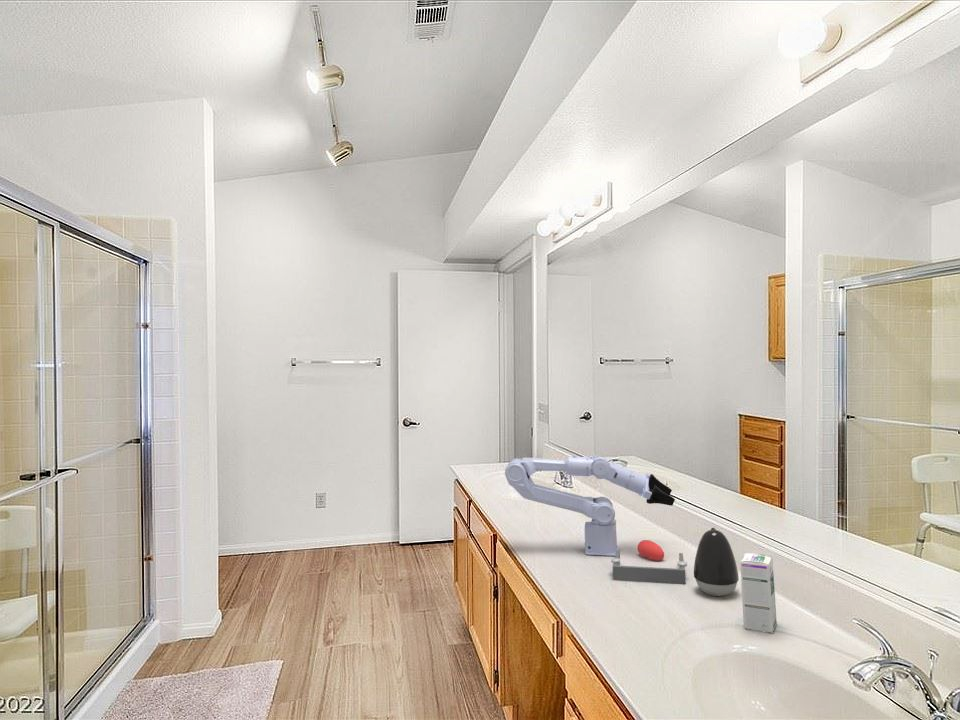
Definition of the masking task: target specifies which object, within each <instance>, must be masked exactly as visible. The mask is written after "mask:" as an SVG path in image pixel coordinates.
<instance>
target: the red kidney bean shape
mask: <svg viewBox="0 0 960 720" xmlns="http://www.w3.org/2000/svg"><path fill="white" fill-rule="evenodd" d="M637 552H638V554H639V555H641V556H642V557H645V558H646V559H649V560H652V561H658V562H659V561H662V560H663V559H664V557H665V552H664V550H663V548H662V547H661V546H660V545H659V544H657V543H656V542H654V541H652V540H648V539H644V540H641V541H640V542H638V544H637Z"/></svg>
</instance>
